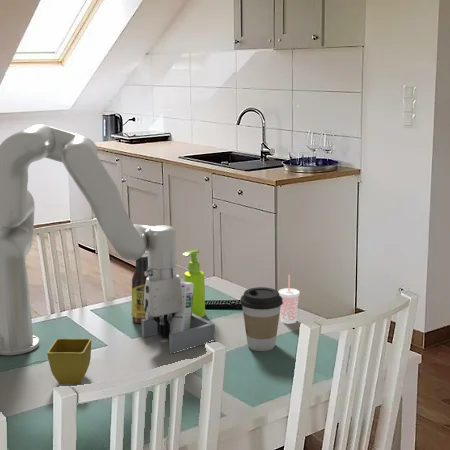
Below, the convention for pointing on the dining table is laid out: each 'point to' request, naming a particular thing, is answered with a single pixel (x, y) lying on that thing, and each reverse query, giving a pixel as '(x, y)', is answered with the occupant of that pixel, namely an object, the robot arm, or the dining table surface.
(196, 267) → the soap dispenser
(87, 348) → the flower pot
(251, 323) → the coffee cup
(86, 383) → the dining table surface
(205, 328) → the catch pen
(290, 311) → the beverage cup
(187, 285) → the syrup box
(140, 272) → the sauce bottle
